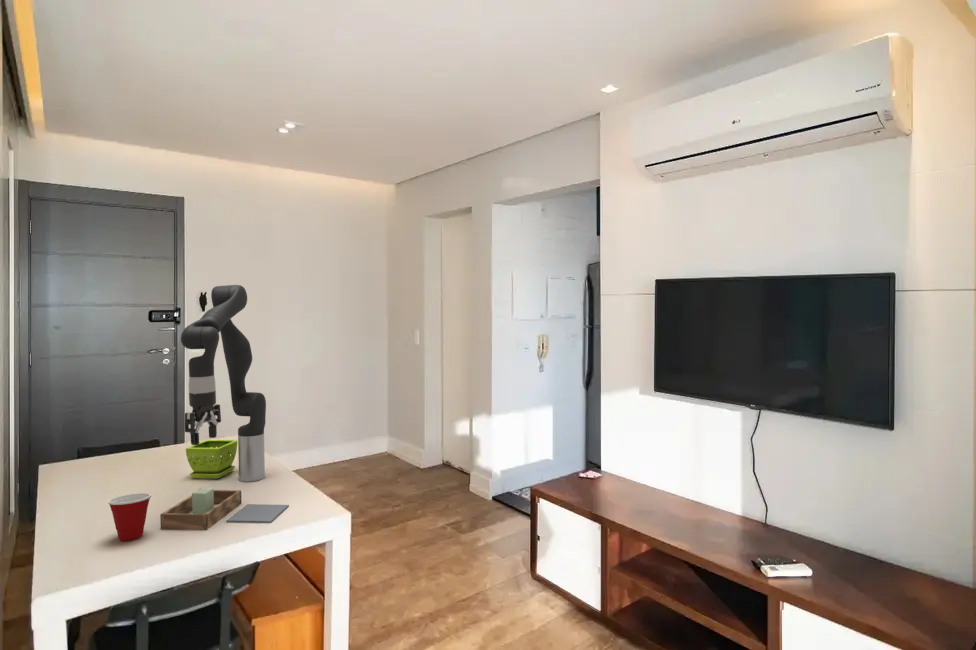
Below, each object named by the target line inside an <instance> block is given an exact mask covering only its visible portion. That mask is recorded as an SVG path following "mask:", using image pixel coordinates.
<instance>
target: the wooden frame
mask: <svg viewBox="0 0 976 650" xmlns="http://www.w3.org/2000/svg"><path fill="white" fill-rule="evenodd" d="M241 505H242V490H238V489H237V490H233V489H230V490H227V489H226V490H225V489H223V490H222V489H221V490H219V489H214V508H212V509H211V510H209V511H208V512H207V513H205V514H192V513H191V512H192V494H191V495H190V496H188V497H187V498H184V499H183V500H182V501H180V502H178V503H177V504H174V505H173V506H172V507H170V508H168V509H167V510H165V511H163V512H162V513H160V514H159V515H160V517H159V518H160V519H159V520H160V521H159V523H160V530H176V531H177V530H179V531H180V530H182V531H184V530H186V531H187V530H188V531H189V530H190V531H191V530H192V531H207V530H208V529H210V528H211V527H212V526H214V525H215V524H217V522H219V521H220V520H222V519H224V518H225V517H226V516H227V515H228V514H230V513H231V512H232V511H234V510H235V509H237V508H238V507H239V506H241ZM221 518H222V519H221Z"/></svg>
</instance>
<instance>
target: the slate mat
mask: <svg viewBox="0 0 976 650" xmlns="http://www.w3.org/2000/svg"><path fill="white" fill-rule="evenodd" d="M289 505H290V504H267V503H266V504H264V503H263V504H260V503H259V504H251V503H249V504H248V503H247V504H246V505H244V506H243V507H242V508H240V509H239V510H238V511H237V512H235V513H234V514H233V515H231V516H230V517H229V518H227V519H226V520H225V521H226V523H243V524H247V523H248V524H249V523H251V524H254V523H255V524H272V523H273V522H274V521H275V520H276V519H277V518H278V517H279V516H280V515H282V513H284V512H285V511H286V510H287V509H288V508H289Z"/></svg>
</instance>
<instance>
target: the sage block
mask: <svg viewBox="0 0 976 650" xmlns="http://www.w3.org/2000/svg"><path fill="white" fill-rule="evenodd" d="M214 490H215V489H214V488H199V489H197V490H195V491H194V492H192V493H191V495H192V511H191V512H192V513H191V514H205V513H207V512H208V511H209V510H211V509H212V508H214V507H215V504H214Z"/></svg>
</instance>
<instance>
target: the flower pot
mask: <svg viewBox="0 0 976 650" xmlns="http://www.w3.org/2000/svg"><path fill="white" fill-rule="evenodd" d="M237 448H238V439H205V440H202V441H199V444H198V445H192V444H191V445H190V446H189V445H188V446H187V447H186V448H185V455H186V458H187V461H188V464H189V467H190V468H191V470H192V472H190V473H189V476H191V478H194V479H210V480H218V479H220V478H222V477H224V476H226V475H228V474H230V473H231V472H233V471H234V469H235V468H236V465H233V463H234V460H235V457H236V455H237V452H238V451H237V450H238V449H237Z"/></svg>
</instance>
